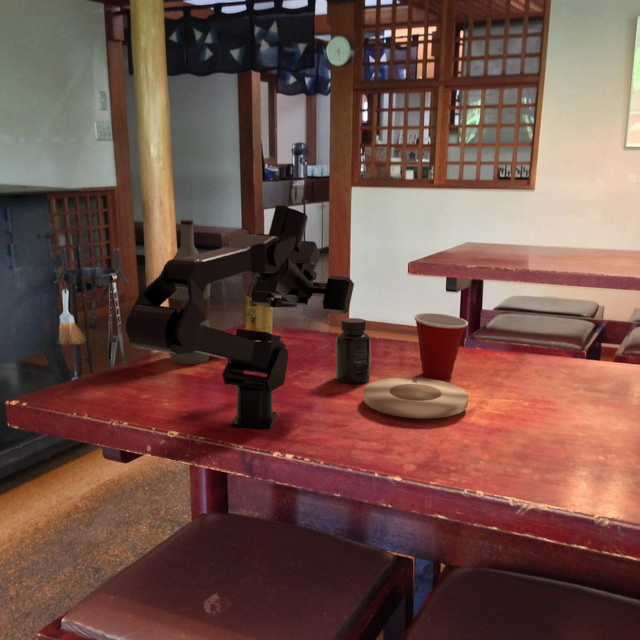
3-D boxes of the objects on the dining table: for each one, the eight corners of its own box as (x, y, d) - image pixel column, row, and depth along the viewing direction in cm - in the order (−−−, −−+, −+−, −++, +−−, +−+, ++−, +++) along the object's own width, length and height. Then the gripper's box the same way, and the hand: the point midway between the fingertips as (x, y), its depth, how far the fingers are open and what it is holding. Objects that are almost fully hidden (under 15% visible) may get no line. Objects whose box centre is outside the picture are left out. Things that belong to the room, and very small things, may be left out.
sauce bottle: (242, 343, 160) (241, 260, 156) (266, 341, 163) (266, 259, 158) (251, 349, 154) (250, 263, 150) (276, 347, 157) (276, 262, 153)
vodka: (161, 363, 141) (156, 220, 135) (176, 352, 150) (172, 218, 144) (204, 366, 140) (201, 221, 134) (217, 355, 149) (215, 219, 143)
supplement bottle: (370, 375, 135) (372, 317, 133) (369, 385, 129) (371, 324, 126) (336, 373, 136) (337, 316, 133) (333, 383, 129) (335, 323, 127)
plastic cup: (461, 385, 129) (464, 325, 127) (406, 379, 133) (408, 320, 130) (468, 371, 139) (472, 314, 137) (417, 365, 143) (419, 310, 140)
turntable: (472, 421, 107) (473, 411, 107) (360, 414, 109) (360, 405, 109) (463, 387, 125) (463, 379, 124) (366, 382, 127) (366, 374, 126)
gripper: (344, 235, 111) (372, 270, 125) (247, 230, 119) (284, 264, 132) (331, 298, 108) (360, 327, 122) (232, 289, 116) (271, 317, 130)
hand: (318, 306), depth 126 cm, fingers open, 9 cm apart
